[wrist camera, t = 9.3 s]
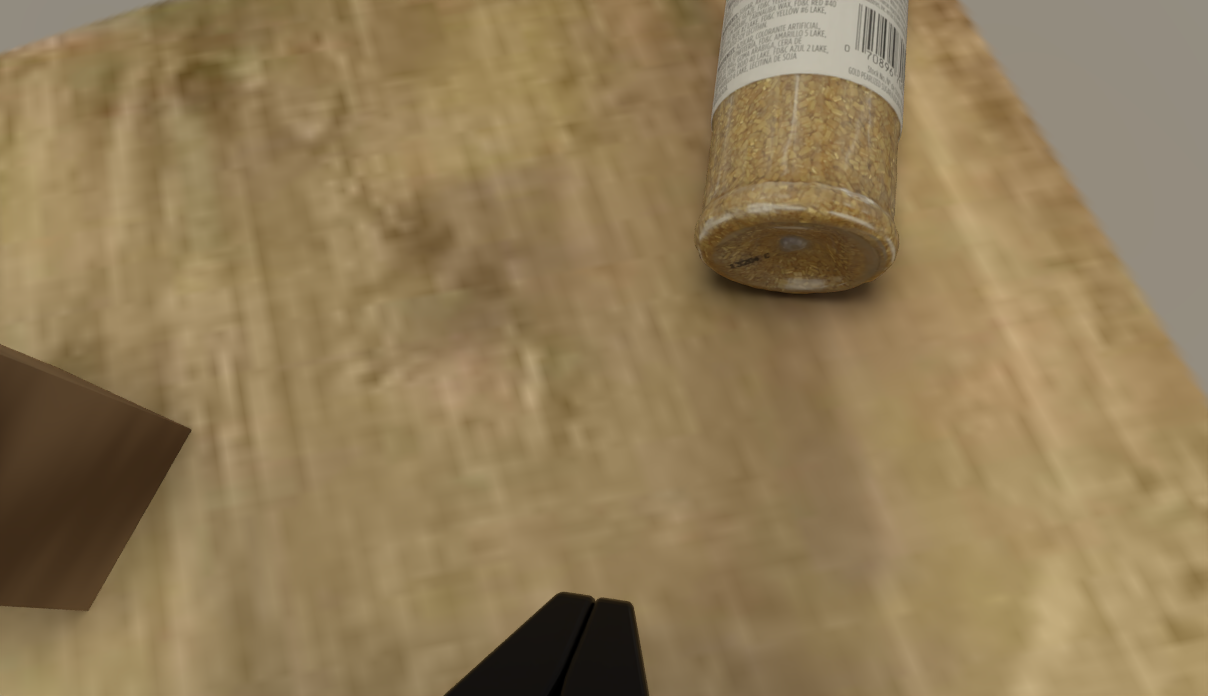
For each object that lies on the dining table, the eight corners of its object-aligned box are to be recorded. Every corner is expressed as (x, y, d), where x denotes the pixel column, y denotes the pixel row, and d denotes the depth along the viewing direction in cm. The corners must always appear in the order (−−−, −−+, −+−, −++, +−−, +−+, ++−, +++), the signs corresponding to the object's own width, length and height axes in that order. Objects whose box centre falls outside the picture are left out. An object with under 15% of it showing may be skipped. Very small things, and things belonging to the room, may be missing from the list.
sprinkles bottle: (795, 315, 22) (830, -89, 26) (947, 266, 18) (959, -200, 22) (649, 255, 19) (713, -173, 24) (785, 184, 16) (832, -311, 20)
